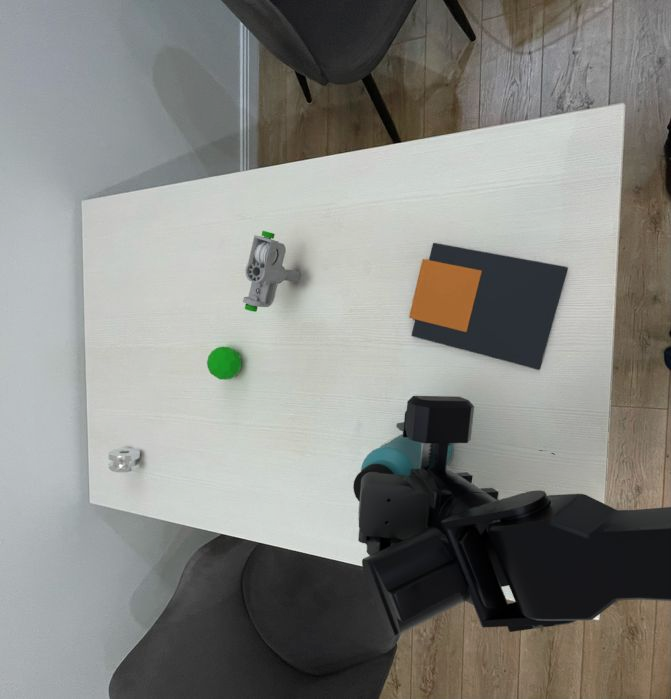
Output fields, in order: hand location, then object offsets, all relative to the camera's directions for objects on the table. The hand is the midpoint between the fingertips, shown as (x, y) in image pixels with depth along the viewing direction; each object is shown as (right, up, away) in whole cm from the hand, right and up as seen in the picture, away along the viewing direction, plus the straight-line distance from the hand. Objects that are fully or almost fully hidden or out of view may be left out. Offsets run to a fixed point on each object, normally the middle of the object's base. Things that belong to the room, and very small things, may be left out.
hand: (396, 465), depth 60 cm
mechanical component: (-12, +23, +18) cm, 32 cm away
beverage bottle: (+6, +1, +10) cm, 11 cm away
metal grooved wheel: (-42, -6, +34) cm, 54 cm away
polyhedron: (-22, +11, +23) cm, 34 cm away
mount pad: (+11, +18, +5) cm, 22 cm away
